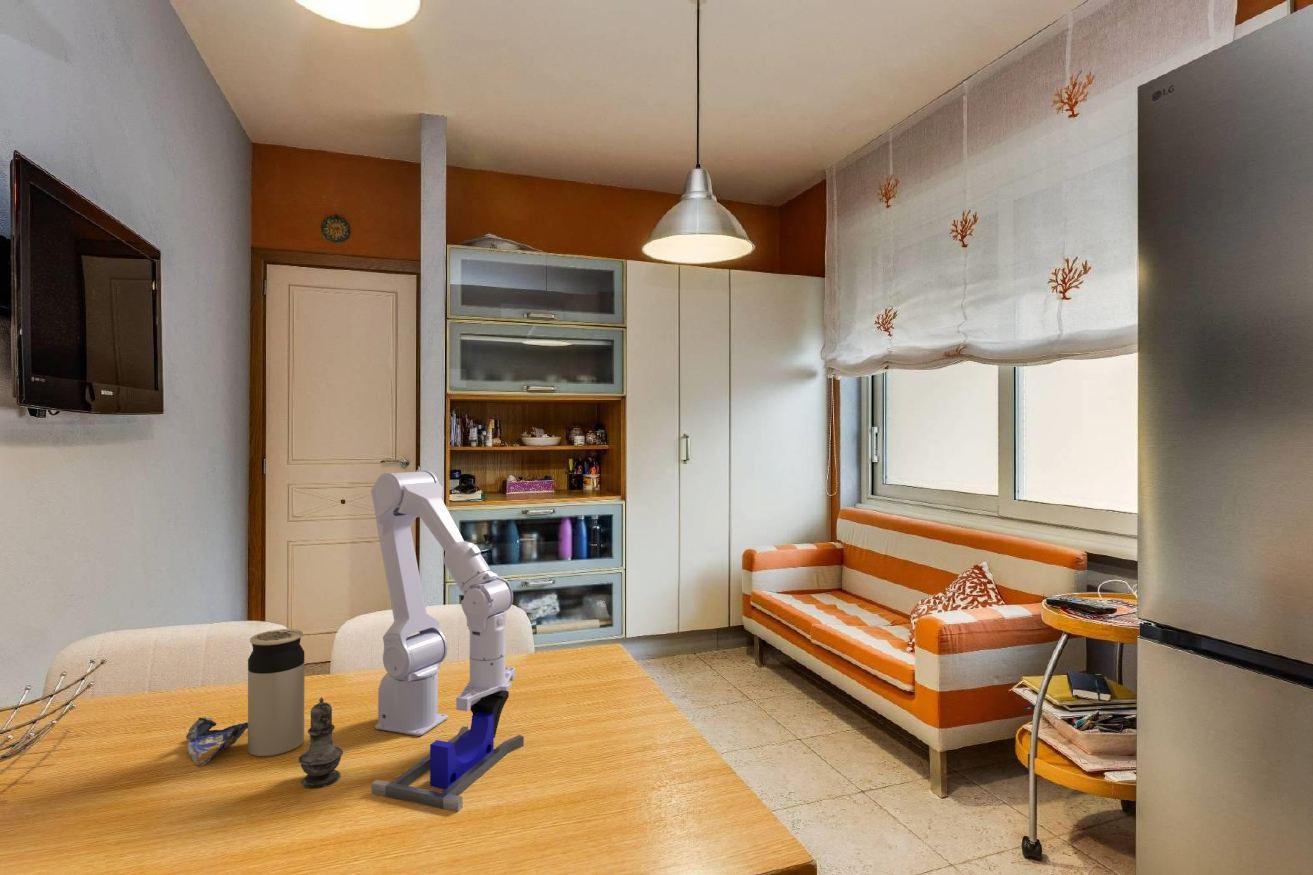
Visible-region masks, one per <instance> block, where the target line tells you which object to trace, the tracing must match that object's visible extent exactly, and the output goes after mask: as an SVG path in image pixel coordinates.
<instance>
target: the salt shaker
mask: <svg viewBox="0 0 1313 875" xmlns="http://www.w3.org/2000/svg"><path fill="white" fill-rule="evenodd" d="M324 700H325V699H324V698H323V697H320V698H319V699H318V702H317V703H316V704H315V705H313V706H312V707H311V710H310V727H309V728H308V729H307V734H309V746H308V750H307V751H305V752H303V753H301V755H299V758H298V762H299V763H300V767H301V769H302V772H303V773H305V774H306V775H305V776H304V777H303V778H302V779H301V780H300V785H301V786H302V788H305V789H311V790H312V789H314V790H315V789H321V788H327V787H329V786H331V785H333V784H335V783H337V782H338V781H339V780H340V779H341V778H342V774H341V772H340V771H339V770H337V768H338V766H339V765H340V762H341V759H342V756H343V754H344V749H343V748H342V747H340V746H338V745H335V744H334V742H333V731H334V729H335V728H336V726H335V725H334V724H333V707H332V705H331V704H330V703H328V702H325V701H324Z"/></svg>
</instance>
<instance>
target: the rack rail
mask: <svg viewBox="0 0 1313 875" xmlns="http://www.w3.org/2000/svg"><path fill="white" fill-rule="evenodd" d="M468 730H469V726H461V728H460V729H459V731H458V733H457V734H456V735H454V736H453V738H450V739H449V740H448V741H447V742H451V743H454V746H455V745H456V743H457V741H458V739H459V736H461V735H462V734H463V733H465V732H466V731H468ZM524 738H525V736H524V735H521V734H518V735H515V736H514V737H511V738H508V739H507V740H504V741H503V742H502V743H500V744H499V745H498V746H497V747H495V748H494V750H493V751H492V752H491V753H489V754H488V755H487V756H486V757H484V758H483V759H482V760H481V761H480V762H478V763H477V764H476V765H475V766H473V767H472V768H471V769H470V770H469V771H467V772H466V773H465V774H464V775H462V776H461V777H460V778H459V779H458V780H456V781H455V782H454V783H453V784H451V785H450V786H449V787H448V788H447V789H443V791H442V792H441V791H436V790H432V789H431V790H429V789H427V788H426V789H425V788H421V787H415V786H410V784H412V783H414V782H415V781H416V780H417V779H419V778H420V777H421V776H423V775H424V774H425V773H427V772H428V771H430V754H428V755H426V756H425V757H424V758H423V759H421V760H419V762H417V763H415V764H414V765H412V766H411V767H410V768H408V769H407V770H405V772H403V773H401V774H400V775H398V776H397V777H396V778H394V779H393V780H392V781H385V780H380V779H376V780H374V781H373V782H371V794H372V795H375V796H381V797H385V798H389V799H390V798H391V799H396V800H400V801H406V802H410V803H413V804H419V805H424V806H429V807H434V808H438V809H439V808H440V809H444V810H449V811H453V812H459V811H461V810H462V809H463V807H464V805H463V801H464V799H463V798H464V797H463V796H462V795H461V794H463V792H465V791H466V790H467V789H468V788H469V787H470V786H471V785H473V784H474V783H475V782H476V781H477V780H478V779H480V778H481V777H482V776H483V775H484V774H485V773H487V772H488V771H489V770H490V769H491V768H492V767H494V766H495V765H496V764H497V763H498V762H499V761H501V760H502V759H503V758H504V757H505V756H507V755H508V754H509V753H511V752H514V751H516V750H517V749H520V748H522V747H524V744H525V742H524Z"/></svg>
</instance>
